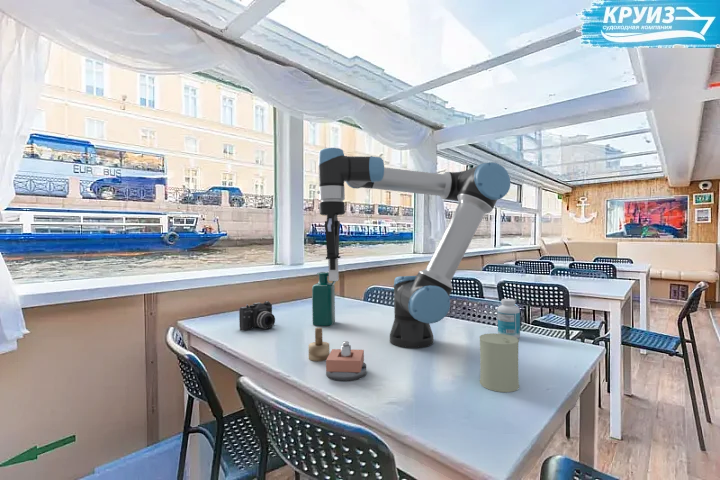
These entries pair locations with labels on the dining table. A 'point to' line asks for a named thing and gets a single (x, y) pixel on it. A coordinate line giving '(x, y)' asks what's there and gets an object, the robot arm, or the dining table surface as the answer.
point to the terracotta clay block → (345, 361)
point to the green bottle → (323, 301)
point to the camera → (256, 316)
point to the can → (499, 362)
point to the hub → (347, 375)
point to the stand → (318, 347)
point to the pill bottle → (509, 318)
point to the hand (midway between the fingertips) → (333, 280)
